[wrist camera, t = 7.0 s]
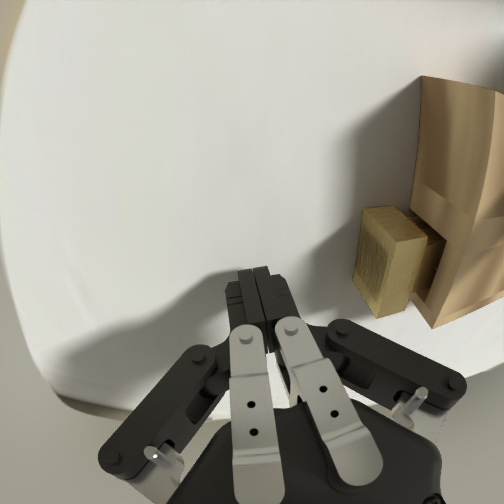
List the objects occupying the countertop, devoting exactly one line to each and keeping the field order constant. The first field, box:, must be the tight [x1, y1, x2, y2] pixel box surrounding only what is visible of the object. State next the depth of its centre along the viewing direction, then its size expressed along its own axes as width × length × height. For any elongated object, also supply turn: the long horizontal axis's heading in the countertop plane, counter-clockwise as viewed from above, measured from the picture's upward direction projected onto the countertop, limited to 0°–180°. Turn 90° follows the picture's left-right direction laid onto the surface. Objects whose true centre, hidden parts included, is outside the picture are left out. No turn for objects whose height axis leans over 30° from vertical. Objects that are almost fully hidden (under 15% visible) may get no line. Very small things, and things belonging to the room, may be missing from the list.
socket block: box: [409, 76, 504, 329], centre depth 13 cm, size 12×13×5 cm
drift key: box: [353, 205, 447, 319], centre depth 15 cm, size 5×8×3 cm, turn 95°
